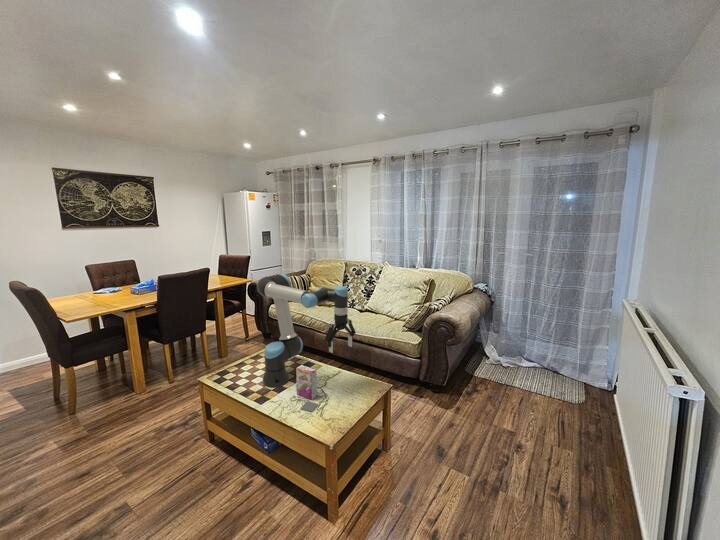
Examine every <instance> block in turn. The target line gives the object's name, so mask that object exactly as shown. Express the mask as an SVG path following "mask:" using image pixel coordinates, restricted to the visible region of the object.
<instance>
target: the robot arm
mask: <svg viewBox="0 0 720 540" xmlns="http://www.w3.org/2000/svg"><path fill="white" fill-rule="evenodd" d="M291 286H292V282H291V280H290V277H288V276H287V275H286V274H284V273H278V274H272V275H269V276H264V277H261V278H260V279H259V280H258V281H257V284H256V290H257V293H259V294H260V296H263V297H265V298H271V299H273V302H274V307H275V314H276V317H277V322H278V326H279V327H278V329H279V332H280V336H279V338H278V340H279V341H272V342H270V343H268V344H267V345H266V346H265V347H264V365H265V366H264V367H265V368H264V369H265V370H264V374H263V377H262V384H263V385H264V387H267V388H278V387H282V386H284V385H285V384H287V383H288V382H289V375H288V372H287V369H286V362H287V361H288V360H290V359H291V358H295V357H296V356H298V355H299V354H300V353H301V352H302V351H303V347H304V343H303V340H302V339H301V337H300V336H299V335H298V334H297V333H296V332H295V329H294V325H293V324H294V323H293V321H292V320H293V318H292V314H291V309H290V304H289V302H293V303H297V304H301V305H302V306H303V307H304V308H306V309H310V308H315V307H316V306H319V305H322V304H324V303H326V302H327V303H328V302H329V303H334V305H333V306H334V315H333V316H334V323H331V322H330V323H329V328H328V330H327V333H326V335H325V338H324V341H326V342H327V347H328V352H329V353H331V354H333V353H334V346H333V345H334V341H333V340H334V338H335V337H336V335H337V334H338V332H339V331H342V330H345V331H346V332H347V333H348V335H347V346H348V347H351V348H352V347H353V340H354V336H355V335H356V333H357V332H356V330H355V328H354V326H353V322H352V320H351V319H350V318H348V309H349V308H348V307H349V306H348V302H349V300H348V299H349V293H348V292H349V291H348V290H349V289H348V287H347V286H344V285H339V286H338V285H337V286H335V287H334V288H328V287H325V286H323V287H318V288H317V289H316V290H315V291H309V290H306V289H305V290H304V289H299V288H294V287H291Z"/></svg>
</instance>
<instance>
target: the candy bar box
mask: <svg viewBox="0 0 720 540" xmlns="http://www.w3.org/2000/svg"><path fill="white" fill-rule="evenodd" d="M295 374H296V375H295V377H296V378H295V379H296V395H298V396H301V397H303V398H305V399H308V400H311V401H312V400H314V399H315V398H316V397H318V392H317V391H318V389H317V369H315V368H312V367H309V366H306V365H303V364H300V365H299V366H296V368H295Z"/></svg>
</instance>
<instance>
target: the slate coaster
mask: <svg viewBox="0 0 720 540" xmlns="http://www.w3.org/2000/svg"><path fill="white" fill-rule="evenodd" d="M318 406H319V403H316V402H312V401H308V400H306V402H305V403H303V405H302V406H301V407H300V410H302V411H305V412H309V413H313V412H314V411H315V409H316V408H318Z"/></svg>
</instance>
